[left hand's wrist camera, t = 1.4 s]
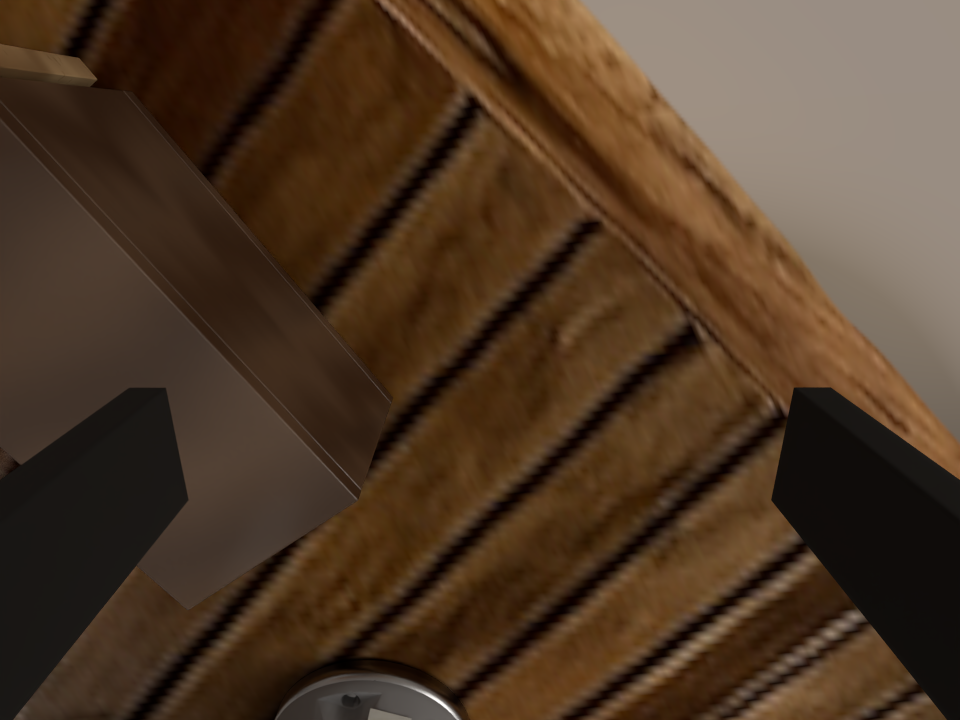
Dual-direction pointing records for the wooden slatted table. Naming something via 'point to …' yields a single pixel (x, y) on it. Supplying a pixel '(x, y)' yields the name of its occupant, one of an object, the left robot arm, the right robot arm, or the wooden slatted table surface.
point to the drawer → (43, 67)
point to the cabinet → (169, 332)
